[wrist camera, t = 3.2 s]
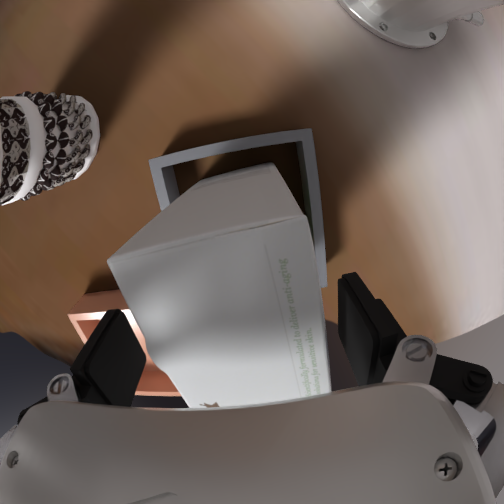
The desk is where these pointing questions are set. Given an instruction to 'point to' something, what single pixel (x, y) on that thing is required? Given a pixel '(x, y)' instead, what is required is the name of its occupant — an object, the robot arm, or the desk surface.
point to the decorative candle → (44, 142)
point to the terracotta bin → (98, 303)
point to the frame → (302, 137)
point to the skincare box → (230, 292)
